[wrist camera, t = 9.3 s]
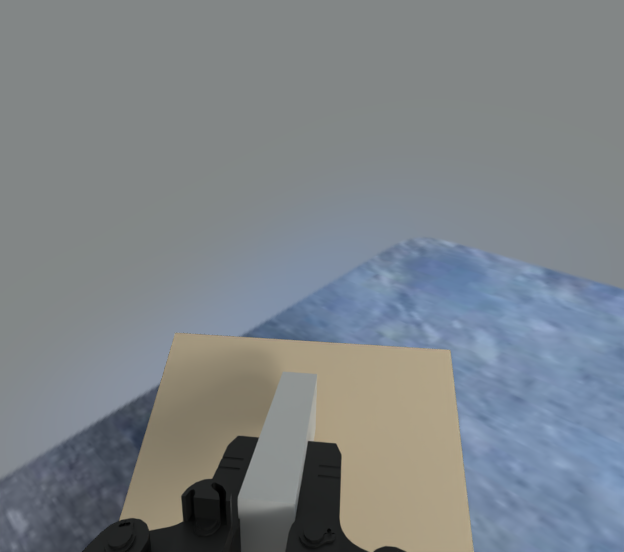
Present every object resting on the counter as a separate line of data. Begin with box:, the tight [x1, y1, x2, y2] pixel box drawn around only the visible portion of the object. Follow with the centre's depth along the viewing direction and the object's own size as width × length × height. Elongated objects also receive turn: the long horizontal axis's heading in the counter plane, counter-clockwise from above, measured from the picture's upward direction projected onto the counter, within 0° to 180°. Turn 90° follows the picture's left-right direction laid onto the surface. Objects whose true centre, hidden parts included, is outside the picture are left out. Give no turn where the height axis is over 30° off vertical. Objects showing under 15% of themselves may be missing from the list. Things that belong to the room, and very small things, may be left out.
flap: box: [119, 333, 474, 552], centre depth 16 cm, size 14×1×12 cm
